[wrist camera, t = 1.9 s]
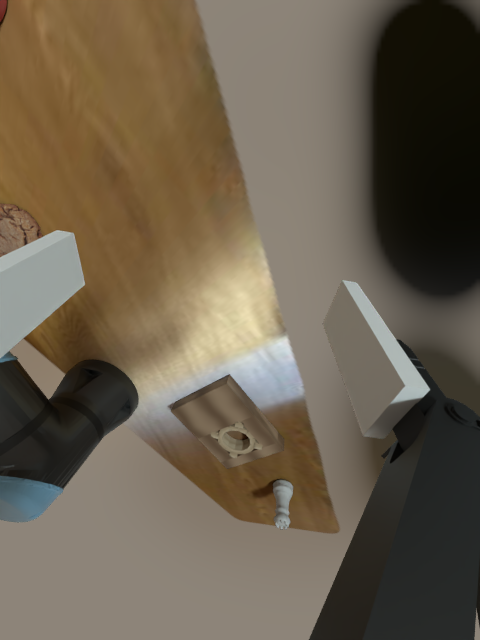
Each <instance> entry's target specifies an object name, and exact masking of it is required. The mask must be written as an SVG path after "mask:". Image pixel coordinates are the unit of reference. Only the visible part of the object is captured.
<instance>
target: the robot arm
mask: <svg viewBox="0 0 480 640" xmlns="http://www.w3.org/2000/svg"><path fill="white" fill-rule="evenodd" d="M84 285H85V281H84V277H83V272H82V268H81V263H80V259H79V255H78V250H77V246H76V241H75V237H74V233H70V232H64V231H59V230H56V231H54V232H52V233H50V234H48V235H46V236H44V237H42V238H40V239H38V240H35V241H33V242H31V243H29V244H27V245H25V246H23V247H21V248H19V249H17V250H14V251H12V252H10V253H8V254H6V255H4V256H2V257H0V520H4V521H10V522H28V521H31V520H34V519H36V518H37V517H39V516H40V515H41V514H42V513H43V512H44V511H45V510H46V509H47V508H48V507H49V506H50V505H51V503H52V502H53V501H54V500H55V499H56V498H57V497H58V495H60V494H61V493H62V492H63V489H64V488H65V486H66V485H67V484H68V482H69V481H70V480H71V478H72V477H73V476H74V475H75V473H76V472H77V471H78V469H79V468H80V467H81V466H82V464H83V463H84V461H85V460H86V459H87V457H88V456H89V455H90V454H91V452H92V451H93V450H94V449H95V447H96V446H97V445H98V443H99V442H100V441H101V440H102V438H103V437H104V436H105V435H107V434H108V433H109V432H110V431H112V430H114V429H115V428H116V427H118V426H119V425H121V424H122V423H124V422H125V421H126V420H127V419H128V418H129V417H130V416H131V415H132V414H133V412H134V411H135V409H136V408H137V406H138V393H137V390H136V388H135V386H134V384H133V383H132V381H131V380H130V379H129V378H128V377H127V376H126V375H125V374H124V373H123V372H122V371H121V370H119V369H118V368H116V367H114V366H113V365H111V364H108V363H106V362H103V361H99V360H85V361H82V362H80V363H78V364H77V365H75V366H74V367H73V368H72V369H70V370H69V371H68V372H67V374H66V375H65V377H64V378H63V380H62V381H61V383H60V385H59V386H58V388H57V390H56V391H55V393H54V394H53V396H52V397H51V398H50V399H49V400H48V399H47V398H46V396H45V395H44V394H43V392H42V391H41V390H40V389H39V387H38V386H37V385H36V384H35V383H34V381H33V380H32V379H31V377H30V376H29V375H28V374H27V372H26V371H25V370H24V368H23V367H22V366H21V364H20V363H19V362H18V360H17V359H18V358H17V357H16V356H13V355H12V354H11V353H10V351H9V350H11V349H12V348H13V347H14V346H15V345H16V344H17V343H18V342H20V341H21V340H22V339H23V338H24V337H25V336H27V335H28V334H29V333H30V332H31V331H32V330H33V329H35V328H36V327H37V326H38V325H39V324H40V323H41V322H43V321H44V320H45V319H46V318H47V317H48V316H49V315H51V314H52V313H53V312H54V311H55V310H56V309H58V308H59V307H60V306H61V305H62V304H63V303H64V302H66V301H67V300H68V299H69V298H70V297H71V296H72V295H74V294H75V293H76V292H77V291H78V290H79V289H80V288H82V287H83V286H84ZM323 326H324V329H325V331H326V334H327V337H328V340H329V343H330V345H331V348H332V351H333V354H334V357H335V359H336V362H337V365H338V368H339V371H340V373H341V376H342V379H343V382H344V385H345V387H346V390H347V393H348V396H349V399H350V401H351V404H352V407H353V410H354V412H355V415H356V418H357V421H358V424H359V427H360V429H361V432H362V435H363V436H366V437H373V438H380V439H384V438H385V437H386V436H387V435H388V434H389V433H390V432H391V431H392V430H393V431H394V433H395V435H396V437H397V439H398V440H397V441H396V442H395V443H394V444H393V445H392V446H391V447H390V448H389V449H388V450H387V451H386V452H385V453H384V454H383V455H382V457H383V458H385V457H386V456H387V455H388V456H387V459H386V461H385V463H384V466H383V468H382V470H381V473H380V475H379V477H378V480H377V482H376V484H375V487H374V489H373V491H372V494H371V496H370V498H369V501H368V503H367V505H366V508H365V510H364V513H363V515H362V517H361V519H360V522H359V524H358V526H357V529H356V531H355V533H354V536H353V538H352V541H351V543H350V545H349V548H348V550H347V552H346V554H345V557H344V559H343V561H342V564H341V566H340V568H339V571H338V573H337V576H336V578H335V580H334V582H333V585H332V587H331V590H330V592H329V594H328V596H327V599H326V601H325V604H324V606H323V608H322V611H321V613H320V615H319V618H318V620H317V623H316V625H315V627H314V629H313V632H312V634H311V636H310V639H309V640H474V636H475V620H476V607H477V613H478V619H479V625H480V417H479V416H478V415H477V414H476V413H475V412H474V411H473V410H471V409H470V408H468V407H467V406H466V405H464V404H462V403H460V402H458V401H456V400H454V399H450V398H446V397H445V395H444V394H443V392H442V391H441V390H440V388H439V387H438V386H437V384H436V383H435V381H434V380H433V379H432V377H431V376H430V375H429V373H428V372H427V370H426V369H424V366H423V365H422V364H421V362H420V361H418V358H417V357H416V355H415V354H414V353H413V351H412V350H411V349H410V348H409V347H408V346H407V345H405V344H404V343H403V342H402V341H401V340H397V339H395V337H394V336H393V335H392V333H391V332H390V330H389V329H388V327H387V326H386V324H385V323H384V321H383V320H382V319H381V317H380V316H379V314H378V313H377V311H376V310H375V308H374V307H373V305H372V304H371V303H370V301H369V300H368V298H367V297H366V295H365V294H364V292H363V291H362V290H361V288H360V287H359V285H358V284H357V283H356V282H350V281H344V280H342V282H341V284H340V286H339V288H338V290H337V293H336V295H335V297H334V299H333V302H332V304H331V306H330V308H329V311H328V313H327V315H326V317H325V319H324V322H323Z"/></svg>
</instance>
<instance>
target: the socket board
mask: <svg viewBox="0 0 480 640" xmlns="http://www.w3.org/2000/svg"><path fill="white" fill-rule="evenodd" d="M171 412H172V413H173V414H174V415H175V416H176V417H177V418H178V419H179V420H180V421H181V422H182V423H183V424H184V425H185V426H186V427H187V428H188V429H189V430H190V431H191V432H192V434H193V435H194V436H195V437H196V438H197V439H198V440H199V441H200V442H201V443H202V444H203V445H204V446H205V447H206V448H207V449H208V450H209V451H210V452H211V453H212V454H213V455H214V456H215V457H216V458H217V459H218V460H219V461H220V462H221V463H222V464H223V465H224V466H225V467H226V468H227V469H229V468H232V467H235V466H238V465H241V464H244V463H247V462H250V461H253V460H256V459H259V458H262V457H265V456H268V455H271V454H275V453H278V452H281V451H284V438H283V437H282V436H281V435H280V434H279V432H278V431H277V430H276V429H275V428H274V427H273V425H272V424H271V423H270V422H269V421H268V419H267V418H266V417H265V416H264V415H263V413H262V412H261V411H260V410H259V409H258V408H257V406H256V405H255V404H254V403H253V402H252V400H251V399H250V398H249V397H248V396H247V395H246V393H245V392H244V391H243V390H242V389H241V387H240V386H239V385H238V384H237V383H236V381H235V380H234V379H233V378H232V377H231V376H230V374H229V375H227V376H226V377H224V378H222V379H220V380H218V381H216V382H214V383H212V384H210V385H208V386H206V387H204V388H202V389H200V390H198V391H196V392H194V393H192V394H190V395H188V396H186V397H184V398H183V399H181V400H179V401H177V402H176V403H175V404H174V406H173V408H172V410H171ZM230 430H234V431H240V432H242V433H244V434H246V435H247V437H248V439H245V440H236V439H234V438H232V437H230V436H229V435H228V434H227V433H226V432H228V431H230Z"/></svg>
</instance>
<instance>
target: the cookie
mask: <svg viewBox="0 0 480 640" xmlns="http://www.w3.org/2000/svg"><path fill="white" fill-rule="evenodd" d="M42 237H43V235H42V234H41V231H40V226H39V225H38V224H37V222H36V221H35V219H34V218H33V217H32V216H31V215H30V214H29V213H28V212H27V211H24V210H22V209H19V208H18V207H17V206H16V205H12V204H0V257H2V256H4V255H6V254H8V253H10V252H12V251H14V250H17V249H19V248H21V247H23V246H25V245H27V244H29V243H31V242H33V241H35V240H38V239H40V238H42Z"/></svg>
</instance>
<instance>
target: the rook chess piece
mask: <svg viewBox="0 0 480 640" xmlns="http://www.w3.org/2000/svg"><path fill="white" fill-rule="evenodd" d="M292 490H293V486H292V484H291V483H290V482H289V481H287V480H284V479H279V480H276V481H275V482H274V483H273V493H274V495H275V498H276V506H277V507H276V510H275V512H276V516H275V517H274V521H275V526H276V527H277V528H279V526H280V529H282V530H283V527H284V529H287V528H288V525H289V524H290V519H289V518H288V515H289V511H288V506H289V500H290V499H291V496H292V494H293V491H292Z"/></svg>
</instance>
